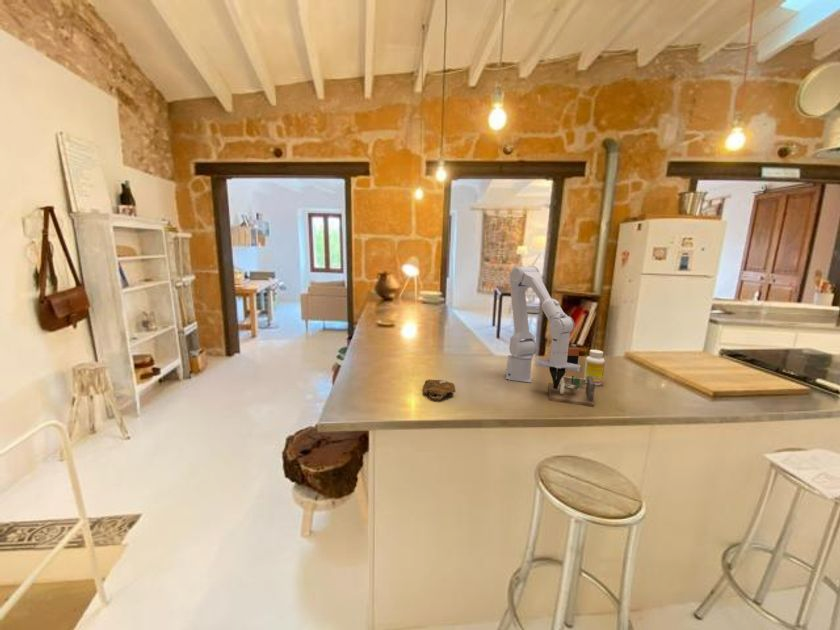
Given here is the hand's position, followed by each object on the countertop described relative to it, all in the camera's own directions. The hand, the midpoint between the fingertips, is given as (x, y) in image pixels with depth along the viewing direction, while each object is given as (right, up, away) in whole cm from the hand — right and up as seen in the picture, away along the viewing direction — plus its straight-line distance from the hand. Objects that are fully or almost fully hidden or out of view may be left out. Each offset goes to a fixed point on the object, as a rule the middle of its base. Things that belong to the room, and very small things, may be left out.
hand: (555, 387), depth 134 cm
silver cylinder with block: (+5, -1, +1) cm, 5 cm away
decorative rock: (-41, -2, -2) cm, 42 cm away
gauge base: (+5, -3, 0) cm, 6 cm away
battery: (+17, +3, +32) cm, 37 cm away
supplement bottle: (+19, -1, +13) cm, 23 cm away
